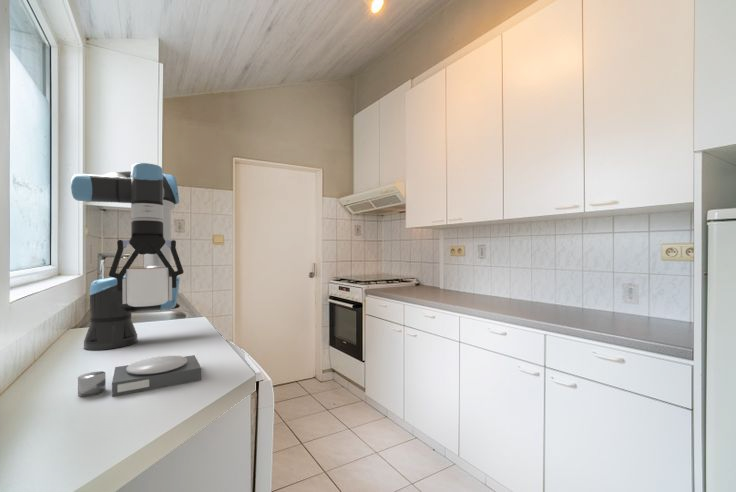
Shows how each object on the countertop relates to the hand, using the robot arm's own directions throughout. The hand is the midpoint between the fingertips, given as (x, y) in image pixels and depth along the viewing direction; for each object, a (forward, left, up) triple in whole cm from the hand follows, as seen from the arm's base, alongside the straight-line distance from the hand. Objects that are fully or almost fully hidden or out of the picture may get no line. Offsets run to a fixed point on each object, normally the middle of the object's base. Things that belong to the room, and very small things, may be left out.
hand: (147, 301), depth 99 cm
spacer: (+13, -11, -18) cm, 25 cm away
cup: (0, 0, -1) cm, 1 cm away
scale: (+12, +2, -18) cm, 22 cm away
